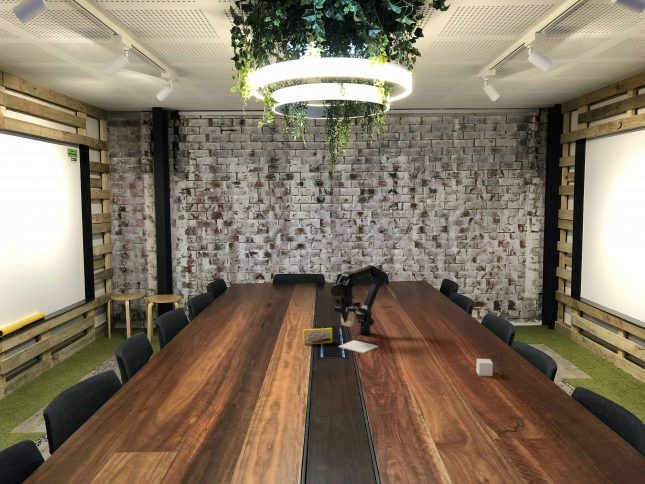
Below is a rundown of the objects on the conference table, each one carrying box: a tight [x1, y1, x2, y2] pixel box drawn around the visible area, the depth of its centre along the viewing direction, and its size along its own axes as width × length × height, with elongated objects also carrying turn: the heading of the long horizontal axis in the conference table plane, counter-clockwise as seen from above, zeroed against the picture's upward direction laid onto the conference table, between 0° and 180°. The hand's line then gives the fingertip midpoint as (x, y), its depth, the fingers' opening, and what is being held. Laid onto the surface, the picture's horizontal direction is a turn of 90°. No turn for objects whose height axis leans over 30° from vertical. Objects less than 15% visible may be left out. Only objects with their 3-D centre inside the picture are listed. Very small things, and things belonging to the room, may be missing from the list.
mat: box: [338, 339, 379, 354], centre depth 268 cm, size 14×16×1 cm
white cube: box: [475, 358, 494, 377], centre depth 231 cm, size 6×6×6 cm
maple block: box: [340, 310, 355, 327], centre depth 283 cm, size 4×6×8 cm, turn 51°
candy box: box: [302, 327, 333, 346], centre depth 274 cm, size 16×2×8 cm, turn 105°
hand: (347, 321), depth 283 cm, fingers closed on maple block, 4 cm apart
